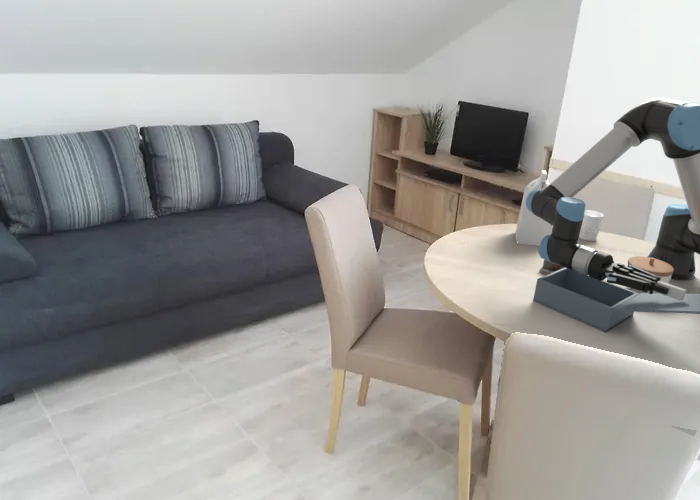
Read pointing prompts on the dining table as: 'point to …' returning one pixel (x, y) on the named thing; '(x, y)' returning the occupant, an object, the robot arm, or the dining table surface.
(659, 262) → the lidded bowl
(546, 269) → the packaged product
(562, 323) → the dining table surface
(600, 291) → the mailer box
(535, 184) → the milk
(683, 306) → the lid
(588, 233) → the white cup
